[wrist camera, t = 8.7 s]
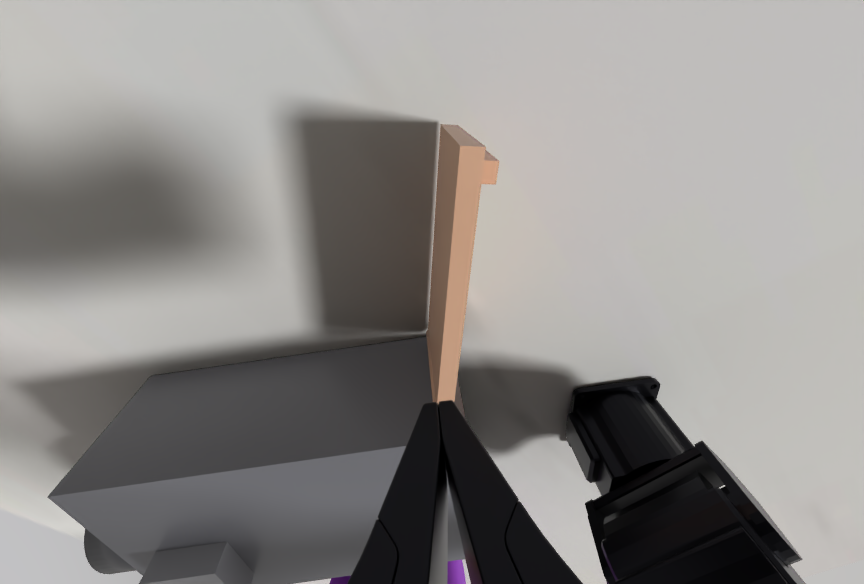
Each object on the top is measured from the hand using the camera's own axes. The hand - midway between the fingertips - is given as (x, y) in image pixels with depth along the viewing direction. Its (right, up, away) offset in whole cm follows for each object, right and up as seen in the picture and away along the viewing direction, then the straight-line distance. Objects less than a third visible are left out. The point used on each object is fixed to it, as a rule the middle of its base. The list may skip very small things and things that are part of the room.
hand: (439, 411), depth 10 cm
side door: (+1, +6, +10) cm, 11 cm away
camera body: (-10, -6, +17) cm, 20 cm away
